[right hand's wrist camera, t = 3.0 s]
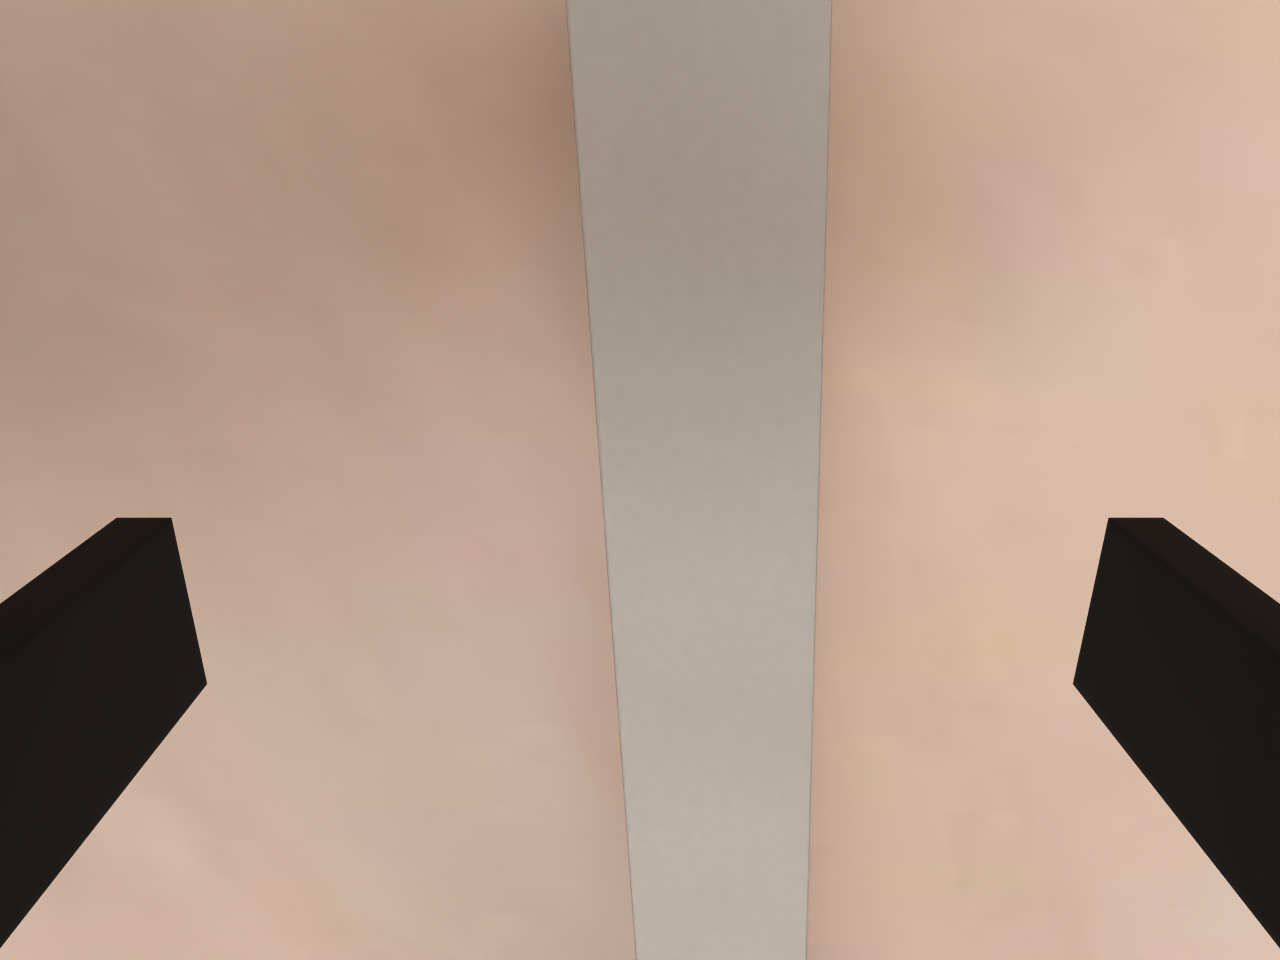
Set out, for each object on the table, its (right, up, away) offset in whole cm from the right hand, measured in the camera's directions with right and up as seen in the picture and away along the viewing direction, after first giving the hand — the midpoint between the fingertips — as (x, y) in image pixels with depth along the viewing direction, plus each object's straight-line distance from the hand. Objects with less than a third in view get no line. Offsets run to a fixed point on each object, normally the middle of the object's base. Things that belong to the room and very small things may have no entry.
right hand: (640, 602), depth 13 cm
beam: (+3, -24, +26) cm, 35 cm away
